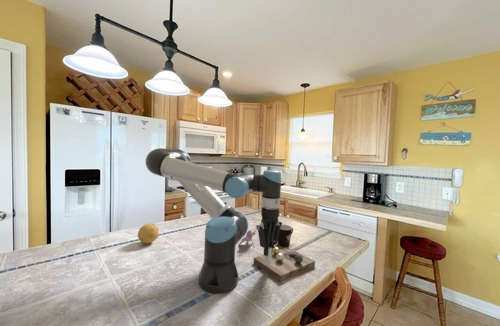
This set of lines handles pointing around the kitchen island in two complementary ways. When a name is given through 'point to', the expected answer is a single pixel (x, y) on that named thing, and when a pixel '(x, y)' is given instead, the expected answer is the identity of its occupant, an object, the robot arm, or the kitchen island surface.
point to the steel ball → (280, 257)
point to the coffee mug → (284, 236)
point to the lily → (248, 237)
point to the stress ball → (148, 233)
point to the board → (284, 264)
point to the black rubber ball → (298, 259)
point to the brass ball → (276, 250)
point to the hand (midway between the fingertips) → (267, 262)
